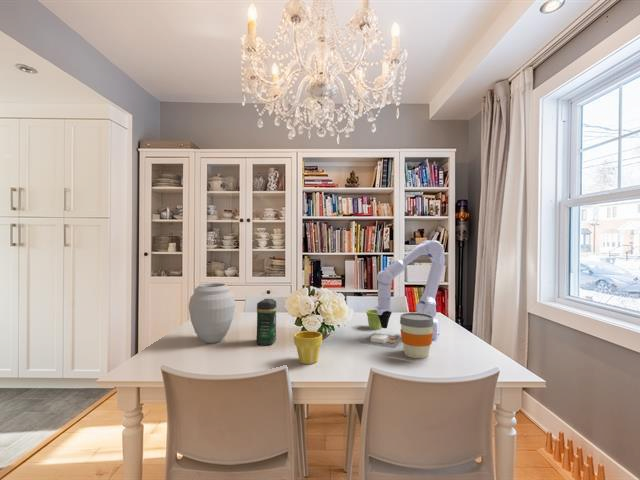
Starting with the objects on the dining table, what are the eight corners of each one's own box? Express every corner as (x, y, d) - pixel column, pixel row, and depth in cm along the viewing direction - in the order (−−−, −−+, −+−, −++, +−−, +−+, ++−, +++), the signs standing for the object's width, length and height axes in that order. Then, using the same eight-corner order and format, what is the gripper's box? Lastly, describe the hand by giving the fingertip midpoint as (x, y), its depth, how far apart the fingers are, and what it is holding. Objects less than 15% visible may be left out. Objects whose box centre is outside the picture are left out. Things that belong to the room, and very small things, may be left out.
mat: (405, 338, 154) (405, 337, 154) (394, 349, 139) (394, 348, 139) (374, 333, 161) (374, 332, 161) (359, 343, 146) (359, 342, 146)
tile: (388, 335, 150) (384, 339, 145) (388, 340, 150) (384, 343, 145) (375, 333, 153) (370, 337, 148) (375, 338, 153) (370, 341, 148)
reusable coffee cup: (428, 363, 124) (429, 321, 123) (395, 356, 130) (395, 317, 130) (436, 353, 134) (437, 315, 134) (405, 347, 141) (405, 311, 141)
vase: (178, 343, 146) (178, 286, 146) (212, 332, 163) (212, 281, 163) (212, 350, 137) (212, 289, 136) (244, 338, 154) (244, 283, 154)
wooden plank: (394, 336, 155) (394, 333, 155) (400, 337, 154) (400, 334, 154) (386, 343, 146) (386, 340, 146) (393, 344, 144) (393, 341, 144)
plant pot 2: (386, 331, 165) (386, 313, 165) (366, 331, 165) (366, 313, 165) (383, 326, 174) (383, 309, 174) (364, 326, 175) (364, 309, 175)
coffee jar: (273, 346, 142) (273, 301, 142) (254, 345, 143) (254, 301, 143) (278, 339, 152) (278, 297, 152) (260, 338, 153) (260, 297, 153)
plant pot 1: (290, 358, 128) (290, 332, 128) (315, 354, 133) (315, 329, 133) (299, 368, 119) (299, 339, 119) (326, 363, 123) (326, 336, 123)
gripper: (381, 294, 162) (381, 323, 162) (370, 299, 150) (370, 330, 150) (395, 295, 159) (395, 325, 159) (385, 300, 146) (385, 332, 146)
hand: (384, 327), depth 154 cm, fingers closed
